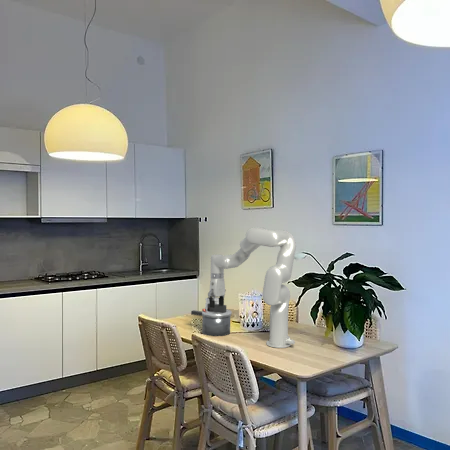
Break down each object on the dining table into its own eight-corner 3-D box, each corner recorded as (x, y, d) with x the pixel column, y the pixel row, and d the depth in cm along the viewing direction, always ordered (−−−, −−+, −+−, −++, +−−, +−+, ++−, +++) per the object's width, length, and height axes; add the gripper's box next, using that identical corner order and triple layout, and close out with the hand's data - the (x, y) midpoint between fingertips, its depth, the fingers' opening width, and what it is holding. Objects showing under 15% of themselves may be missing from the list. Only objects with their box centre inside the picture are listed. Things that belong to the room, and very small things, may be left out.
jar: (222, 320, 287) (222, 297, 286) (220, 324, 276) (221, 300, 276) (206, 319, 288) (206, 296, 287) (203, 323, 277) (204, 299, 277)
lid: (237, 312, 259) (237, 303, 259) (221, 318, 245) (221, 308, 245) (212, 309, 268) (212, 300, 268) (196, 314, 254) (196, 305, 254)
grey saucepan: (236, 331, 260) (236, 312, 260) (220, 338, 245) (221, 318, 245) (200, 325, 273) (200, 307, 273) (183, 331, 259) (183, 312, 259)
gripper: (214, 278, 247) (214, 309, 247) (230, 275, 262) (230, 304, 262) (203, 277, 251) (202, 307, 251) (219, 274, 266) (219, 302, 266)
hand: (216, 305), depth 257 cm, fingers open, 9 cm apart
